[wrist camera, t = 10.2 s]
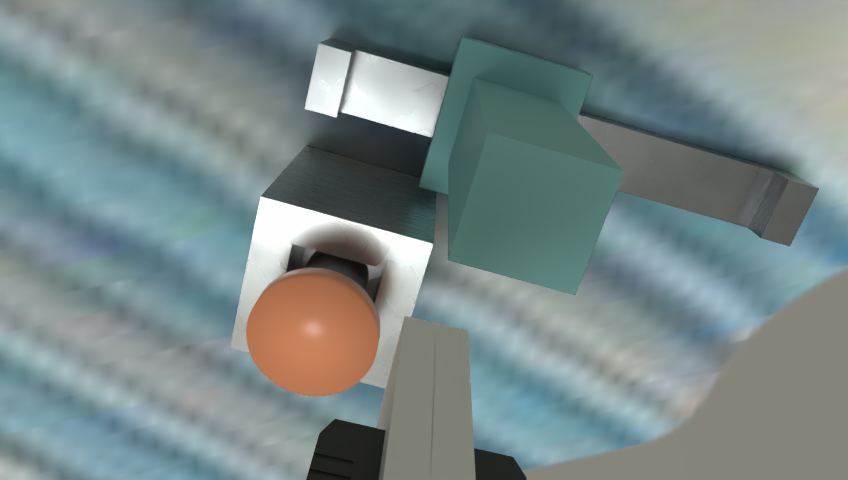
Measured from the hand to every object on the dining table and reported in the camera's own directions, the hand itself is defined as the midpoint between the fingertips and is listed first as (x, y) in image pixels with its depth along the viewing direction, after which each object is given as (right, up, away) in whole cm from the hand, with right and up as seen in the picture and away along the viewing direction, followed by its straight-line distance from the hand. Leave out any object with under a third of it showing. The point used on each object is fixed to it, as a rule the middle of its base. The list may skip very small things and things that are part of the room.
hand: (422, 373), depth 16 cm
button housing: (-4, +4, +20) cm, 21 cm away
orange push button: (-4, +2, +14) cm, 15 cm away
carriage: (+4, +9, +18) cm, 21 cm away
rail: (+7, +8, +18) cm, 21 cm away
